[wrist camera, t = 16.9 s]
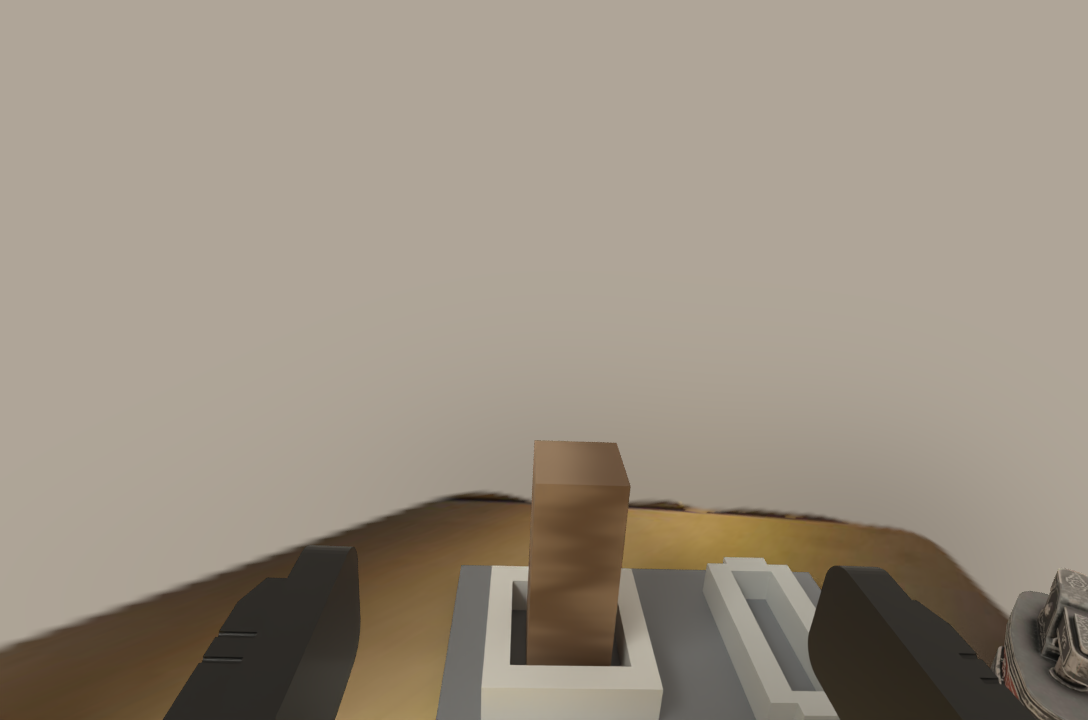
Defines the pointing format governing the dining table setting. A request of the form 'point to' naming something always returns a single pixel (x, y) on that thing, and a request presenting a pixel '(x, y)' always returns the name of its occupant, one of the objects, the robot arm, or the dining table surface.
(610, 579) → the tall brown wooden block
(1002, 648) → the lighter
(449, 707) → the holder board
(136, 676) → the dining table surface
